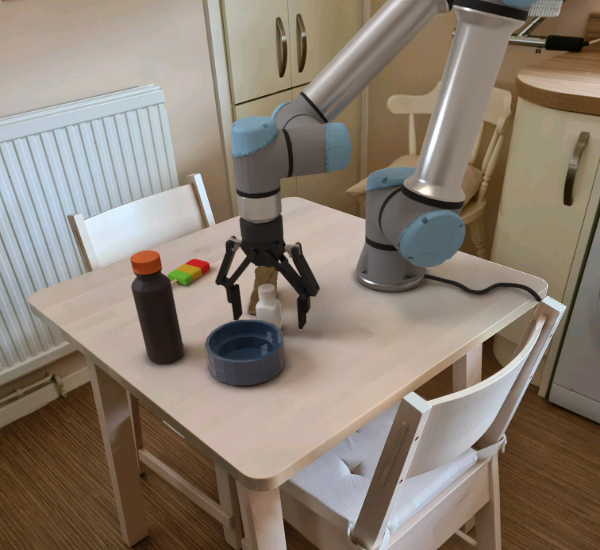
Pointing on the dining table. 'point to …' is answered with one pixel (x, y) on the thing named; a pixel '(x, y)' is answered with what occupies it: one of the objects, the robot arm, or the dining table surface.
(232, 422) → the dining table surface
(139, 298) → the vinegar
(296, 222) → the dining table surface
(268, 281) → the rock
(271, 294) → the pepper shaker
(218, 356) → the bowl
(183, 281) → the popsicle
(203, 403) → the dining table surface
